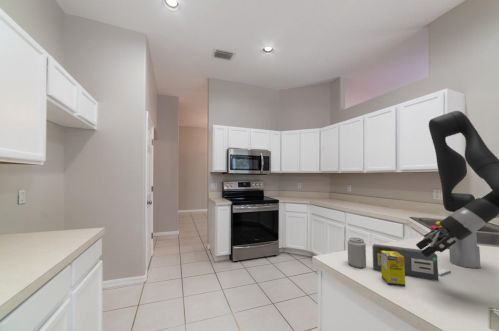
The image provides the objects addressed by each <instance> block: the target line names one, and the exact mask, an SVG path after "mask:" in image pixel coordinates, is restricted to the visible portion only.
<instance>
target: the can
mask: <svg viewBox="0 0 499 331" xmlns="http://www.w3.org/2000/svg"><path fill="white" fill-rule="evenodd" d="M366 244H367V243H366V242H365V240H364V239H363V238H360V237H351V236H350V237H349V238H348V240H347V262H348V264H349V265H350V266H352V267H354V268H358V269H362V268H364V267H366V266H367V251H366V250H367V247H366Z"/></svg>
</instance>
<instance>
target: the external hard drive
mask: <svg viewBox="0 0 499 331" xmlns="http://www.w3.org/2000/svg"><path fill="white" fill-rule="evenodd" d="M451 273H452V270H450V269H447V268H443V267H440V266H438V277H444V276H446V275H448V274H451ZM443 275H444V276H443Z"/></svg>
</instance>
